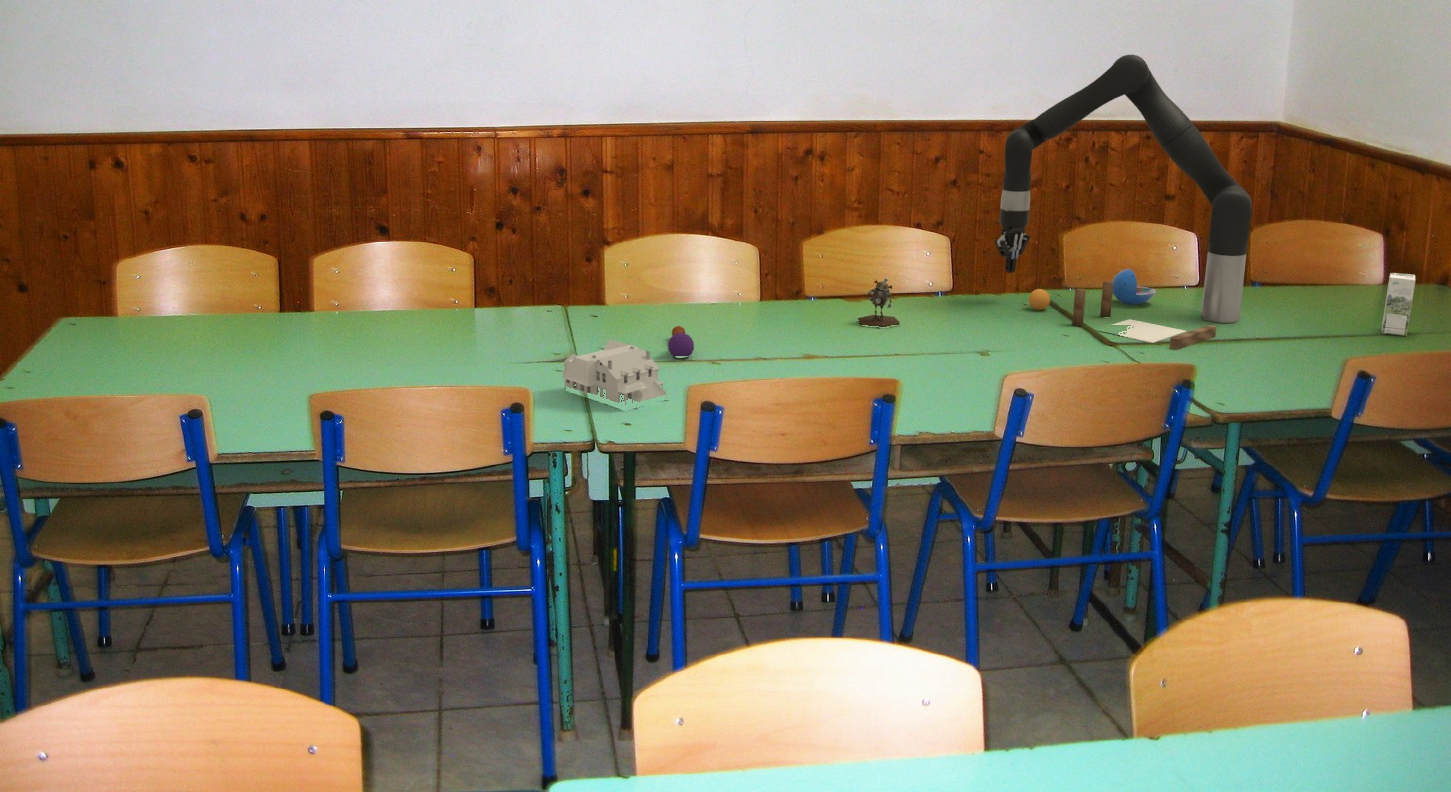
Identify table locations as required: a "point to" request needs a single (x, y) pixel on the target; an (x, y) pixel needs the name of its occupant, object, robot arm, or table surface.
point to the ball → (1039, 299)
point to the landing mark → (1148, 331)
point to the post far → (1106, 299)
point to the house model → (615, 373)
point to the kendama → (680, 343)
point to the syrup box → (1398, 304)
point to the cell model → (1130, 289)
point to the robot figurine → (880, 299)
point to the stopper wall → (1192, 337)
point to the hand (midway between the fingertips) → (1010, 272)
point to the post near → (1079, 307)
